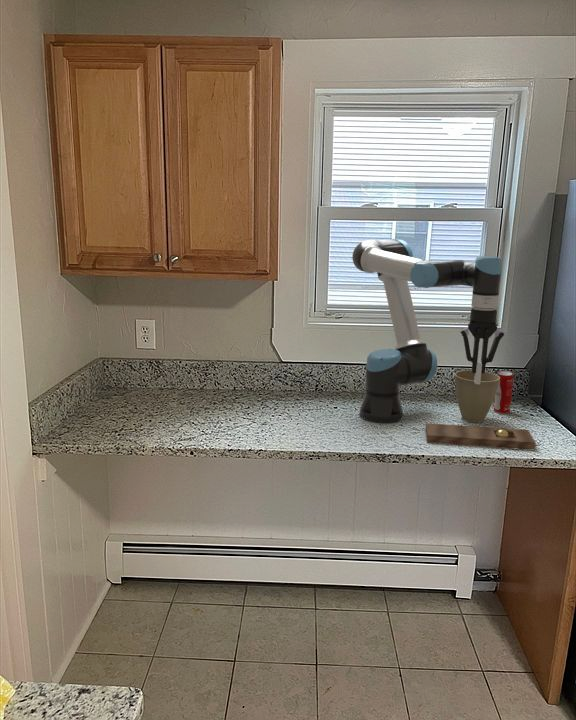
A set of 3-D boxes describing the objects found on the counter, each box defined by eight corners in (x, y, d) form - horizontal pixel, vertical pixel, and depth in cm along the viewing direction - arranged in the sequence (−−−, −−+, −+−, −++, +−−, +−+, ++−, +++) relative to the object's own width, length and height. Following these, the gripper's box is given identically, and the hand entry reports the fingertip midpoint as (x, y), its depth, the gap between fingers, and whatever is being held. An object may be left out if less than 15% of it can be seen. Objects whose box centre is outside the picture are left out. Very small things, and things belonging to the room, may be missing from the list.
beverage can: (507, 409, 214) (511, 370, 210) (512, 415, 207) (516, 374, 204) (491, 408, 214) (494, 369, 211) (495, 414, 208) (499, 374, 204)
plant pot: (484, 429, 193) (488, 384, 189) (443, 419, 203) (447, 375, 199) (502, 418, 204) (507, 375, 200) (463, 409, 213) (466, 367, 210)
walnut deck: (426, 442, 182) (427, 435, 181) (425, 430, 192) (426, 423, 192) (534, 450, 176) (535, 442, 176) (527, 437, 187) (527, 429, 186)
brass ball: (494, 442, 181) (498, 430, 180) (492, 436, 185) (496, 425, 184) (507, 445, 181) (511, 434, 180) (504, 440, 185) (509, 429, 184)
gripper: (463, 309, 172) (456, 385, 178) (509, 311, 170) (500, 387, 176) (460, 305, 180) (454, 378, 185) (504, 307, 177) (497, 381, 183)
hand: (477, 383), depth 181 cm, fingers closed
